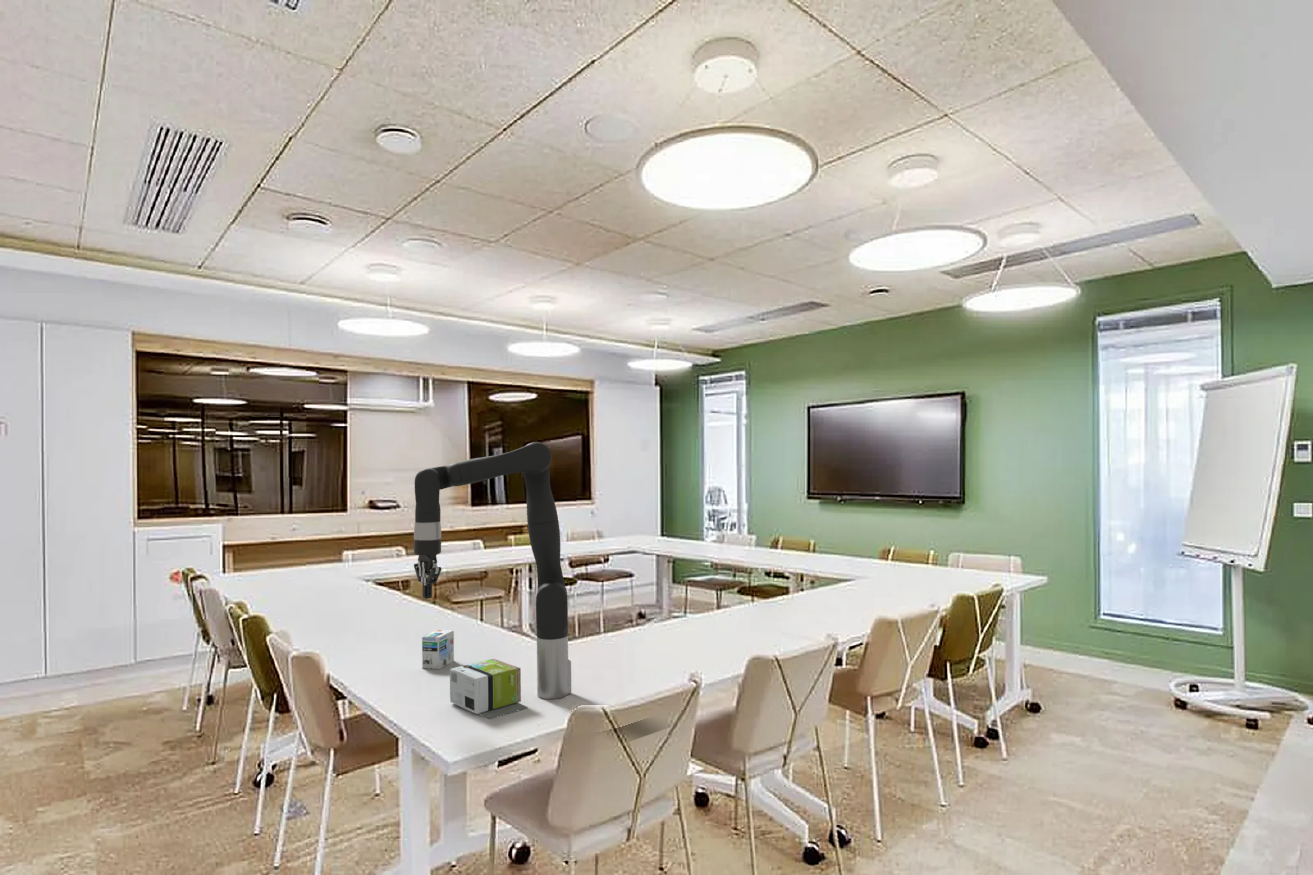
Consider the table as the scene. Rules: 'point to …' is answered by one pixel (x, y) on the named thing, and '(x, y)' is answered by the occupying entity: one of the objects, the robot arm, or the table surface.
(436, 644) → the light bulb box
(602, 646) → the table surface
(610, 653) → the table surface
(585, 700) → the table surface
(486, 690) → the tea box
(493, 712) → the mat
